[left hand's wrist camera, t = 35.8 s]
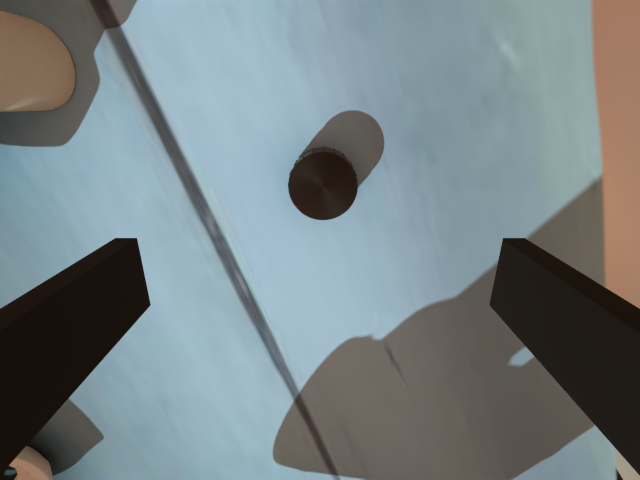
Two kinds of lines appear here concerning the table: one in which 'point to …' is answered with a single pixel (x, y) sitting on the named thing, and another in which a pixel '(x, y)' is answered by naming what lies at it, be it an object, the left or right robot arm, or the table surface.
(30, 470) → the skull bowl
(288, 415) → the table surface
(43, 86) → the bottle
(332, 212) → the cap
